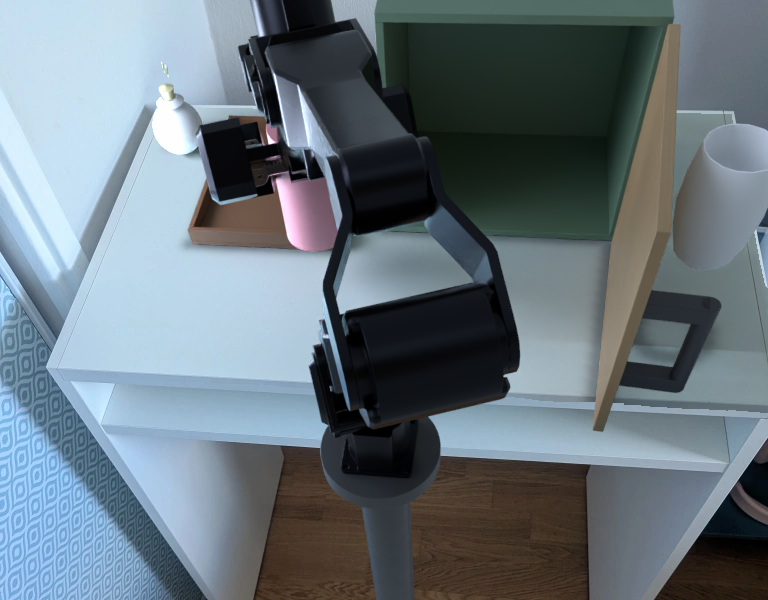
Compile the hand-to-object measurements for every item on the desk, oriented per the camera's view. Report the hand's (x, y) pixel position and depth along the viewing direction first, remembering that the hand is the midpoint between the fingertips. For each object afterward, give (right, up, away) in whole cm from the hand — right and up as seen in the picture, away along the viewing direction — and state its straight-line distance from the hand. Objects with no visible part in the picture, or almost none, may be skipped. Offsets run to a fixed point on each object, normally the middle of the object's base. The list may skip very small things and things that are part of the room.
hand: (306, 164), depth 74 cm
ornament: (-18, +13, +23) cm, 31 cm away
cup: (+37, -16, +3) cm, 40 cm away
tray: (-5, +5, +18) cm, 19 cm away
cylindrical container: (+1, -4, +6) cm, 7 cm away
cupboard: (+22, +5, +16) cm, 27 cm away
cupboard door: (+33, -16, +3) cm, 37 cm away
